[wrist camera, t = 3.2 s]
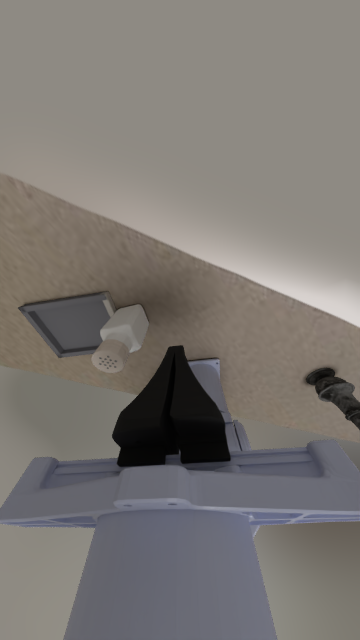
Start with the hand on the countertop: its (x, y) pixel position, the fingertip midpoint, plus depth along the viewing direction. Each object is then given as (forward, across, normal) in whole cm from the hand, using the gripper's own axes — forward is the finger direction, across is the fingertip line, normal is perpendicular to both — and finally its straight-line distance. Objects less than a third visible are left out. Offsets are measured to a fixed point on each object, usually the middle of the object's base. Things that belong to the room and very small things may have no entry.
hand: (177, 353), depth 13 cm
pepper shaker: (+10, +7, 0) cm, 12 cm away
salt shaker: (+10, -27, +20) cm, 35 cm away
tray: (+9, +16, +1) cm, 19 cm away
